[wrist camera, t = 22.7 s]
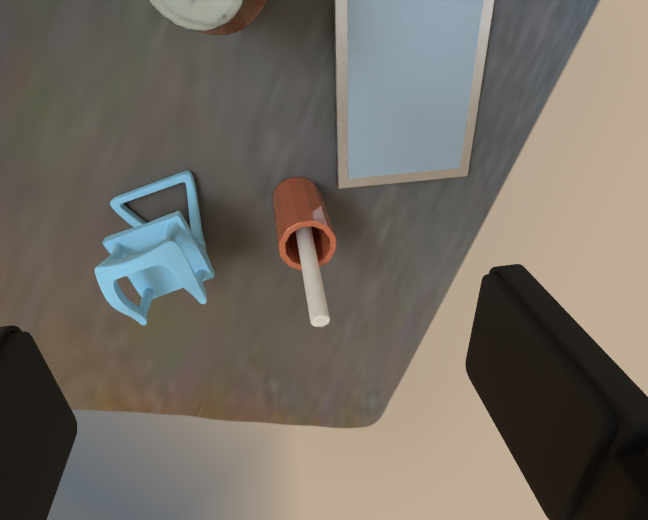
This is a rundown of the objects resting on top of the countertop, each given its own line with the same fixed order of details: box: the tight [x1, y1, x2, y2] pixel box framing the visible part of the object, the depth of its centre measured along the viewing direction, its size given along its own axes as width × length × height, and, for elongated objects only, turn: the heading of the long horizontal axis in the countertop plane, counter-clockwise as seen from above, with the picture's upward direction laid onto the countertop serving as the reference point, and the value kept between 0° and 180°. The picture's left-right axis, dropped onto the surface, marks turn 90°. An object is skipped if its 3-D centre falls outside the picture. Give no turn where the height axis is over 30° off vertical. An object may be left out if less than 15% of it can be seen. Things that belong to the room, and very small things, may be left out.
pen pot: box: [273, 177, 336, 271], centre depth 39 cm, size 5×5×9 cm
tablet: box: [333, 0, 494, 189], centre depth 38 cm, size 20×13×1 cm, turn 2°
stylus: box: [295, 226, 330, 327], centre depth 37 cm, size 1×1×15 cm
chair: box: [95, 171, 215, 325], centre depth 37 cm, size 8×8×12 cm
